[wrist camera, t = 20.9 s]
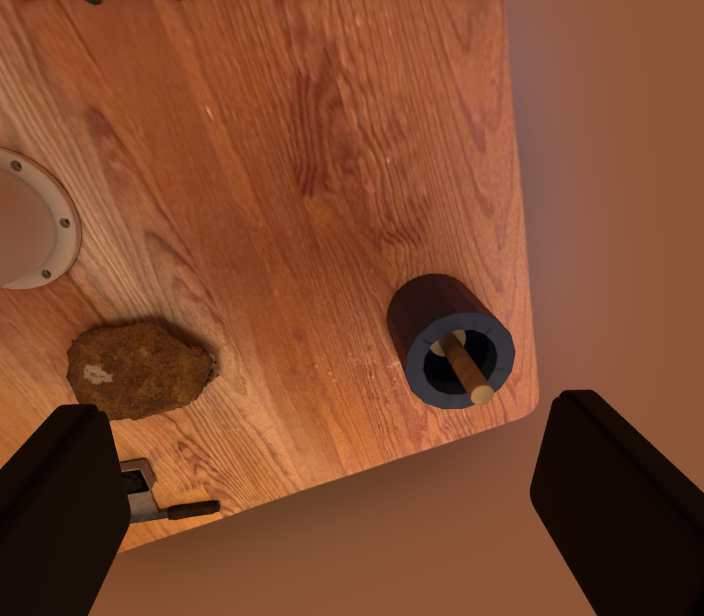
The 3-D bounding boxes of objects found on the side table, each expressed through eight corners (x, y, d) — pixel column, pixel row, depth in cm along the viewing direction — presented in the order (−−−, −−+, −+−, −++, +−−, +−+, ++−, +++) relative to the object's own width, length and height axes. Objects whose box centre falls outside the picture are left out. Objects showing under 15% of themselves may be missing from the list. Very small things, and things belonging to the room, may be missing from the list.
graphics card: (54, 511, 49) (29, 488, 46) (64, 490, 51) (41, 467, 48) (153, 494, 49) (134, 471, 46) (158, 474, 51) (141, 451, 48)
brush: (415, 333, 45) (456, 415, 32) (418, 302, 44) (462, 375, 31) (448, 333, 45) (501, 414, 33) (452, 302, 44) (509, 374, 31)
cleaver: (81, 495, 51) (94, 526, 53) (76, 501, 50) (89, 533, 52) (212, 475, 52) (221, 507, 53) (210, 482, 51) (219, 514, 52)
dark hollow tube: (384, 355, 47) (401, 410, 38) (389, 273, 43) (410, 313, 34) (467, 353, 48) (504, 407, 38) (480, 273, 44) (524, 311, 35)
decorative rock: (198, 295, 42) (61, 330, 43) (185, 309, 39) (34, 348, 39) (237, 389, 46) (110, 419, 47) (228, 410, 43) (90, 443, 43)
